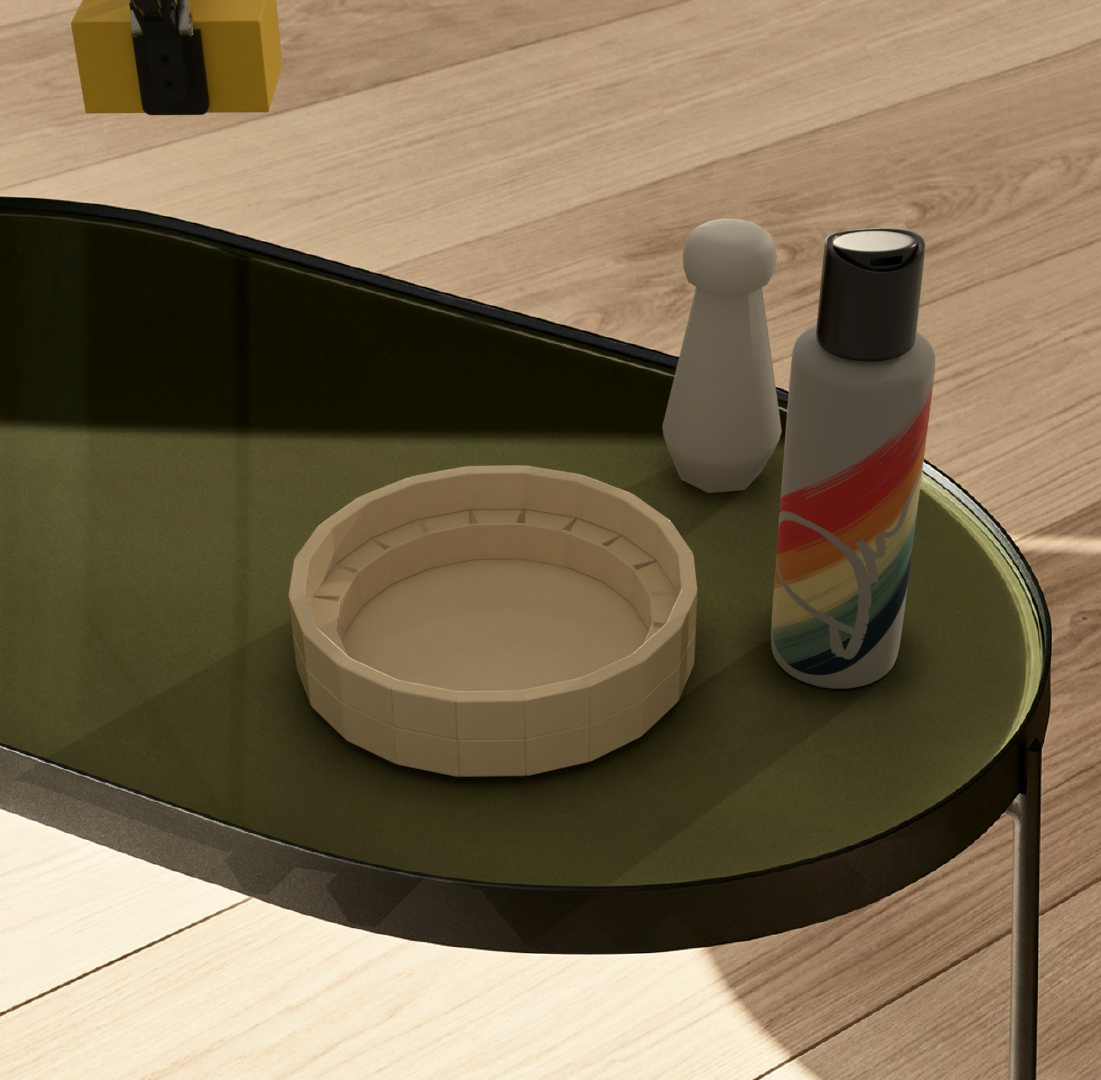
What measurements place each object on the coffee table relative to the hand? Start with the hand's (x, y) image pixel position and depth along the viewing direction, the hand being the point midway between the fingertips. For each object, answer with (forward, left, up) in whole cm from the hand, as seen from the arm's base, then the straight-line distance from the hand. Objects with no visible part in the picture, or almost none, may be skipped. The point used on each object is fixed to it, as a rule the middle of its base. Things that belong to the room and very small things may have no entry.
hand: (186, 82), depth 99 cm
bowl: (+15, -27, -15) cm, 35 cm away
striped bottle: (+30, -27, -16) cm, 44 cm away
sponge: (0, 0, 0) cm, 0 cm away
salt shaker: (+26, -12, -16) cm, 33 cm away
